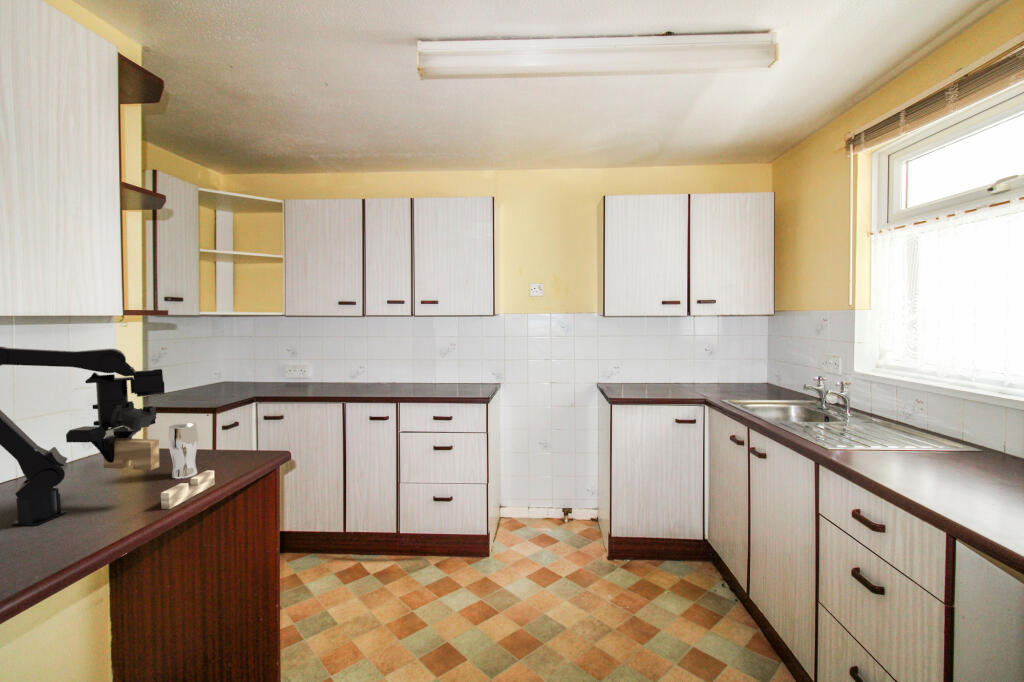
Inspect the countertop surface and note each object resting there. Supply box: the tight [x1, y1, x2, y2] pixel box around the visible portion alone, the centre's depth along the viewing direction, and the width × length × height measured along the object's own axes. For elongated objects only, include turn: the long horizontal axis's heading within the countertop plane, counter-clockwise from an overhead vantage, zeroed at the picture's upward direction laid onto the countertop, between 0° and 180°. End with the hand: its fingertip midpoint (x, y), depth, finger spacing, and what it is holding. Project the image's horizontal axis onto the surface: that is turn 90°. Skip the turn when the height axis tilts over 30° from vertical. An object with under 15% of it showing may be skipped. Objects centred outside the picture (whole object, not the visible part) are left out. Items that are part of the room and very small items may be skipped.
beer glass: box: [167, 422, 199, 480], centre depth 132 cm, size 7×7×15 cm
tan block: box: [103, 437, 160, 471], centre depth 111 cm, size 2×12×7 cm, turn 89°
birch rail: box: [160, 469, 216, 510], centre depth 117 cm, size 16×2×4 cm, turn 179°
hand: (116, 460), depth 112 cm, fingers closed on tan block, 2 cm apart
